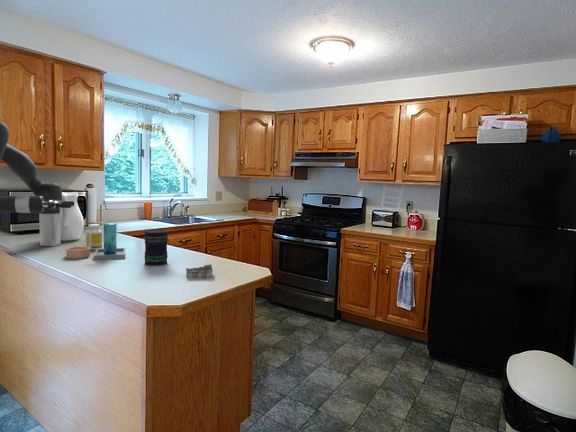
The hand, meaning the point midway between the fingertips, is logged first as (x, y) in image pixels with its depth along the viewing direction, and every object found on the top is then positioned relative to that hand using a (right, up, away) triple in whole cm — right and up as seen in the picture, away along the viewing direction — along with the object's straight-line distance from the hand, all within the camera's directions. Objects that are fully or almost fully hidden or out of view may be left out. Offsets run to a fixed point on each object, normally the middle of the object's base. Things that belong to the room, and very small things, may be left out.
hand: (72, 204), depth 159 cm
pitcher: (-30, -20, +42) cm, 55 cm away
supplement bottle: (-3, -23, +22) cm, 32 cm away
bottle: (+13, -24, +9) cm, 29 cm away
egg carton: (+63, -30, -19) cm, 73 cm away
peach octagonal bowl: (0, -25, +4) cm, 25 cm away
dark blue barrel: (+39, -27, -2) cm, 48 cm away
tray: (+13, -25, +9) cm, 29 cm away
